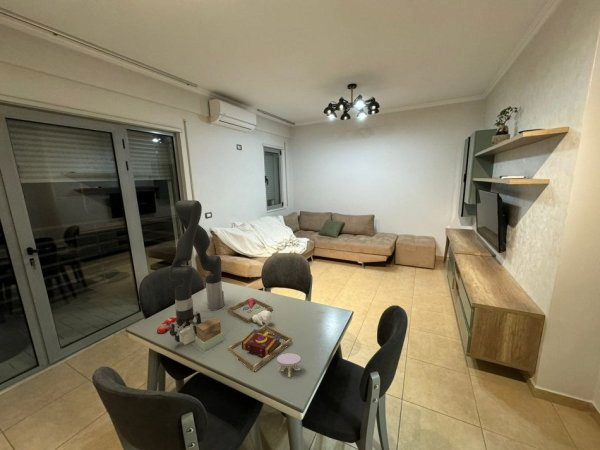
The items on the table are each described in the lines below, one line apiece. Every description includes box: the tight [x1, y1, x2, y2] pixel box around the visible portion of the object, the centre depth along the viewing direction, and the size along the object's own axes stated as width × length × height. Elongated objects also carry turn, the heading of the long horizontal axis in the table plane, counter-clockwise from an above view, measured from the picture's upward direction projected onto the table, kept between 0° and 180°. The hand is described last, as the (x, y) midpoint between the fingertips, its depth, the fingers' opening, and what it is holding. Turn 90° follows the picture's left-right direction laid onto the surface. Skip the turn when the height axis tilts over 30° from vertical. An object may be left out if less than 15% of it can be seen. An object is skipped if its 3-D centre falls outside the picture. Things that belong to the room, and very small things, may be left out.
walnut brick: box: [196, 316, 222, 342], centre depth 117 cm, size 9×6×6 cm, turn 141°
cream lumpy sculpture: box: [251, 309, 273, 326], centre depth 134 cm, size 6×8×12 cm
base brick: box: [194, 331, 224, 351], centre depth 117 cm, size 10×8×4 cm
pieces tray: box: [227, 297, 273, 325], centre depth 148 cm, size 19×20×2 cm
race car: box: [156, 315, 177, 334], centre depth 132 cm, size 13×5×4 cm, turn 164°
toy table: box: [276, 352, 302, 378], centre depth 101 cm, size 10×9×6 cm
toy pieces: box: [242, 297, 261, 314], centre depth 151 cm, size 12×11×4 cm
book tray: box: [227, 324, 293, 372], centre depth 115 cm, size 24×19×2 cm
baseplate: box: [191, 337, 228, 355], centre depth 118 cm, size 12×12×1 cm
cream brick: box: [179, 326, 196, 345], centre depth 119 cm, size 5×5×6 cm
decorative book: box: [241, 329, 282, 358], centre depth 115 cm, size 11×16×5 cm
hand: (187, 337), depth 119 cm, fingers open, 8 cm apart
